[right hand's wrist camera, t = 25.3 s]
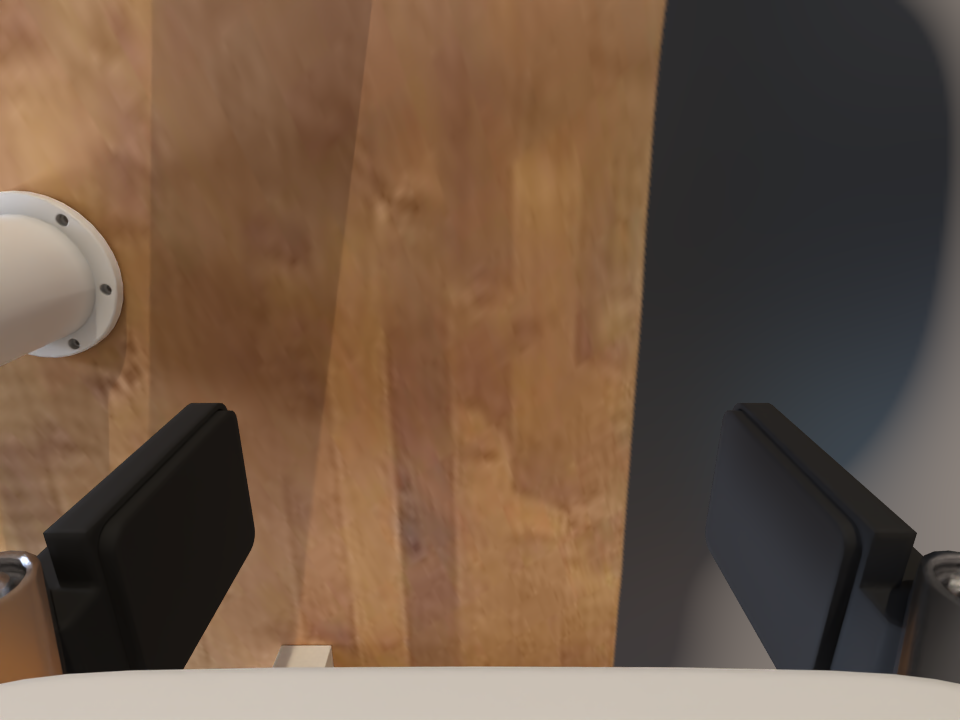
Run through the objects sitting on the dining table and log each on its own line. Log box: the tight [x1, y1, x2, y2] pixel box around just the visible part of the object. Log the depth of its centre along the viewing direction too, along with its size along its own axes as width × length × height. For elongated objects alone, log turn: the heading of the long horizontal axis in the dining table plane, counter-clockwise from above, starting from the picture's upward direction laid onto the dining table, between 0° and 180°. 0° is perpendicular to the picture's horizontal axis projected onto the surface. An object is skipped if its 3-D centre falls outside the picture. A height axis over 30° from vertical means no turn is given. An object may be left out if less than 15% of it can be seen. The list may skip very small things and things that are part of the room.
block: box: [273, 646, 334, 668], centre depth 55 cm, size 5×7×8 cm
